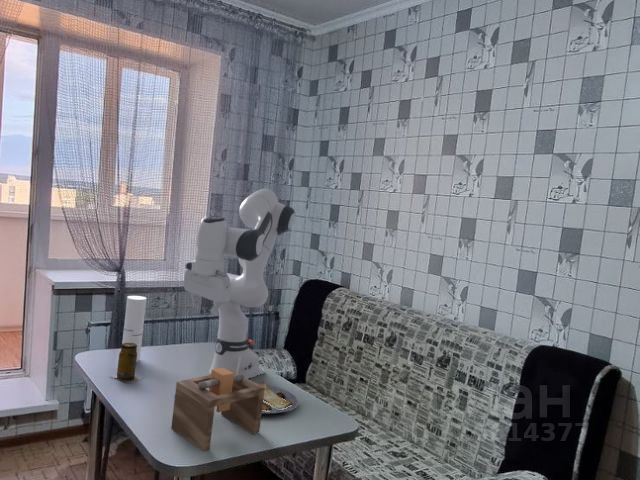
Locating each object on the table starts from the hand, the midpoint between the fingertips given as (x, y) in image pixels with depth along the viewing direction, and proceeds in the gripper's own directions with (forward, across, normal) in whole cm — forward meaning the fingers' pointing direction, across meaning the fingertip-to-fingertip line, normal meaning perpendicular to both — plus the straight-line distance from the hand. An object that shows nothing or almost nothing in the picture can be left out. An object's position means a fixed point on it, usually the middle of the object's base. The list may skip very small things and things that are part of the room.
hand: (204, 310), depth 158 cm
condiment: (+33, +34, +5) cm, 47 cm away
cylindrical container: (+33, +51, -5) cm, 61 cm away
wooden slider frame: (+32, -16, +4) cm, 36 cm away
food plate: (+33, -7, -22) cm, 41 cm away
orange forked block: (+25, -16, +4) cm, 30 cm away
